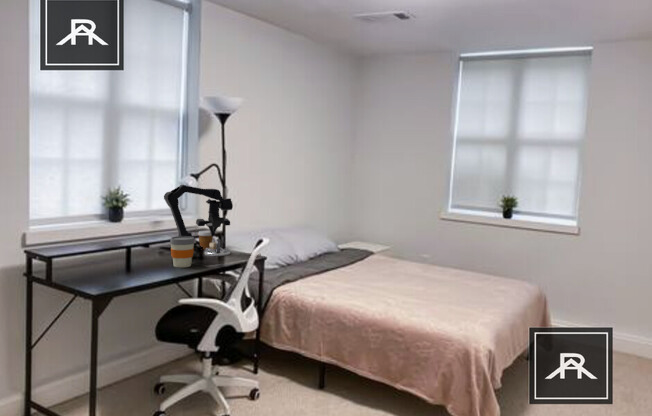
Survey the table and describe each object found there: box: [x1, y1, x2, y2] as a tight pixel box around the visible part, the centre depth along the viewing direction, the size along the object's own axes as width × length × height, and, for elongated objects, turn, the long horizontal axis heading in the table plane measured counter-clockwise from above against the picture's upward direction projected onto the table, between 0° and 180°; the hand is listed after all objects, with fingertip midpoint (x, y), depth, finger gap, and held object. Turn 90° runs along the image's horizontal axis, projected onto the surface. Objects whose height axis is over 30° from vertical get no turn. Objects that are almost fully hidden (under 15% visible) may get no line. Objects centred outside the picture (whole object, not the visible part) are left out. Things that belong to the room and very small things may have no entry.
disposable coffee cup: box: [197, 230, 214, 251], centre depth 326 cm, size 10×10×12 cm
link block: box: [210, 241, 216, 249], centre depth 314 cm, size 4×4×4 cm
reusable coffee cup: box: [169, 235, 195, 268], centre depth 281 cm, size 12×12×15 cm
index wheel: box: [204, 238, 231, 257], centre depth 311 cm, size 15×15×10 cm
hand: (212, 236), depth 308 cm, fingers closed
